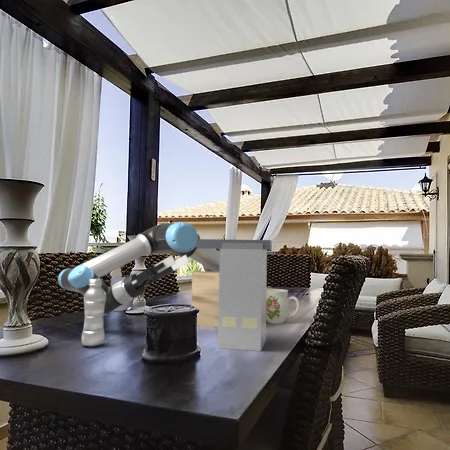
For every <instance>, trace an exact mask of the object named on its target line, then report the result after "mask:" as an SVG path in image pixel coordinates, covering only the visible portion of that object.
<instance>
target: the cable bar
mask: <svg viewBox="0 0 450 450" xmlns="http://www.w3.org/2000/svg"><path fill="white" fill-rule="evenodd" d="M222 242H223V243H264V250H267V251H270V250H272V242H273V241H272V240H271V239H221V238H220V239H219V238H218V239H217V238H216V239H215V238H213V239H212V238H211V239H210V238H209V239H208V238H206V239H205V238H204V239H203V238H202V239H201V238H200V239H196V248H203V249H215V250H220V249H222Z"/></svg>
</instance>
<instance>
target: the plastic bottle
mask: <svg viewBox="0 0 450 450" xmlns="http://www.w3.org/2000/svg"><path fill="white" fill-rule="evenodd" d="M102 281H103V280H102V279H101V278H100V279H89V286H90V287H89V289H88V290H87V291H86V293H85V295H84V296H83V306H84V307H83V308H84V323H83V330H82V332H81V343H82V345H83V346H86V347H97V346H100V345H103V343H104V341H105V336H106V335H105V329H104V316H105V315H103V314H104V307H105V302H106V293H105V292H104V290H103V289H102V288H101V285H102Z"/></svg>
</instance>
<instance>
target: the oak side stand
mask: <svg viewBox="0 0 450 450" xmlns="http://www.w3.org/2000/svg"><path fill="white" fill-rule="evenodd" d="M192 306H194V307H196V308H198V309H199V310H200V312H199V313H198V315H197V325H198V326H197V327H210V328H211V327H212V328H218V322H219V272H211V271H206V270H205V271H203V270H197V271H193V272H192V273H191V307H192Z"/></svg>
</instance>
